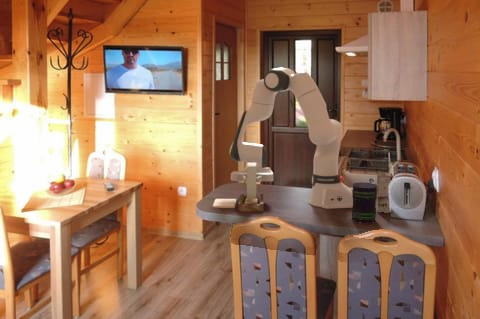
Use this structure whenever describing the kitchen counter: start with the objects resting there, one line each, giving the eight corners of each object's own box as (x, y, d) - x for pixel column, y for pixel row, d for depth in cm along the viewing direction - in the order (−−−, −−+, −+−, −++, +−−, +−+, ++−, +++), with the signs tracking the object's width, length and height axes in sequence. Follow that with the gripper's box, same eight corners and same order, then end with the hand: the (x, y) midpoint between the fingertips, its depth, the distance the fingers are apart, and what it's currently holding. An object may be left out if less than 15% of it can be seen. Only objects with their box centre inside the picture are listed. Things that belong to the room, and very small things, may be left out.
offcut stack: (257, 208, 222) (257, 198, 221) (257, 210, 219) (257, 200, 218) (244, 208, 222) (244, 198, 221) (244, 210, 219) (244, 199, 218)
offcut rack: (263, 201, 235) (263, 194, 234) (263, 211, 217) (263, 203, 216) (240, 200, 235) (240, 193, 235) (238, 211, 217) (238, 203, 217)
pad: (236, 200, 236) (236, 199, 236) (234, 207, 223) (234, 206, 223) (215, 200, 236) (215, 198, 236) (212, 207, 224) (212, 205, 223)
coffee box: (392, 213, 214) (394, 177, 211) (376, 212, 215) (378, 176, 213) (390, 207, 223) (392, 172, 220) (375, 207, 224) (377, 172, 221)
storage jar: (373, 217, 208) (374, 182, 206) (378, 224, 199) (379, 188, 196) (349, 216, 209) (350, 182, 207) (353, 223, 199) (354, 187, 197)
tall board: (256, 195, 233) (256, 162, 231) (255, 201, 224) (255, 166, 221) (247, 195, 234) (247, 162, 231) (246, 201, 224) (246, 166, 221)
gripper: (231, 167, 240) (229, 172, 226) (273, 167, 239) (273, 173, 225) (231, 179, 241) (229, 186, 227) (273, 180, 240) (273, 186, 226)
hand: (251, 179), depth 226 cm, fingers closed on tall board, 4 cm apart
